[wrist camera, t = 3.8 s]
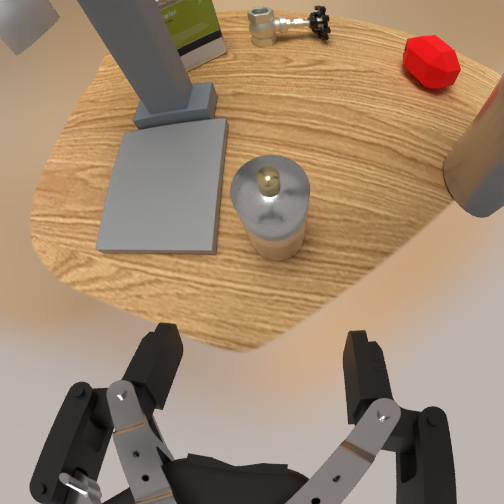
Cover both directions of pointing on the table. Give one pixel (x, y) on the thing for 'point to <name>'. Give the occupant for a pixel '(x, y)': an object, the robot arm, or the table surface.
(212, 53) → the tea box
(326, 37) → the valve
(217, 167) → the press
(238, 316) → the table surface
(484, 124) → the robot arm
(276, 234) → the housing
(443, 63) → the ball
